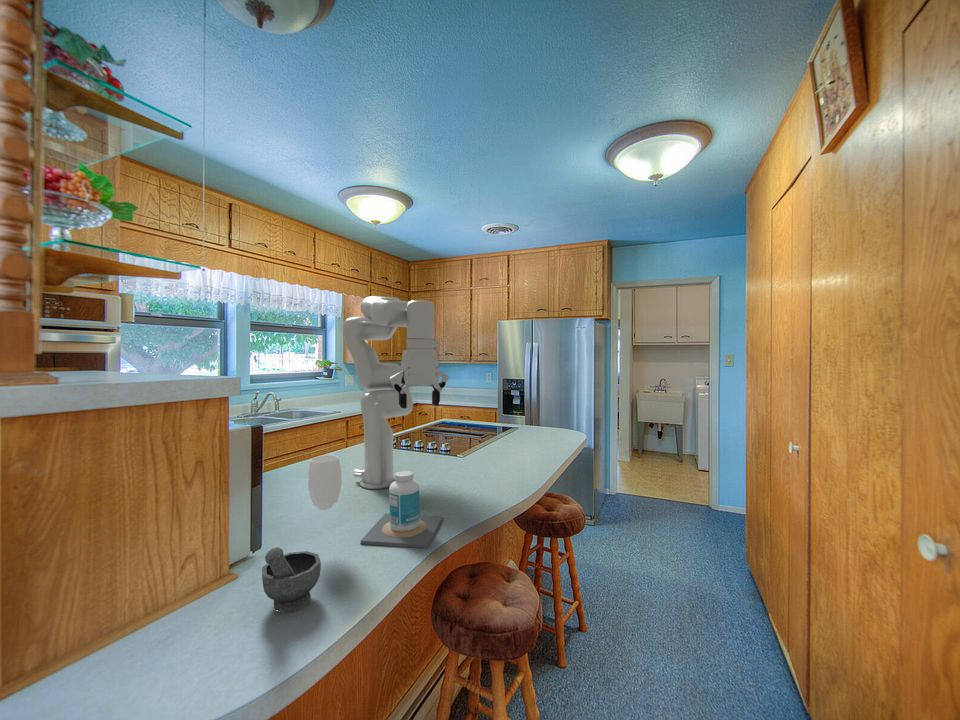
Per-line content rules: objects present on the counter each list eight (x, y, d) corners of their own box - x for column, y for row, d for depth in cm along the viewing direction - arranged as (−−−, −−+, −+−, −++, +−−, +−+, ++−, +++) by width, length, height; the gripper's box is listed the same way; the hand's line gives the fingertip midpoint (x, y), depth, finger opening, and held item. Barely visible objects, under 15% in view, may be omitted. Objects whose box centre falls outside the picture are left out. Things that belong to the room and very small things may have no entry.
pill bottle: (423, 520, 106) (422, 469, 105) (415, 533, 98) (415, 478, 98) (395, 519, 106) (394, 468, 106) (385, 532, 99) (384, 477, 99)
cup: (322, 559, 88) (321, 464, 88) (301, 551, 92) (300, 460, 91) (349, 546, 94) (348, 457, 94) (328, 538, 98) (327, 453, 97)
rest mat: (360, 544, 95) (360, 540, 95) (385, 516, 111) (385, 512, 111) (427, 548, 93) (427, 544, 93) (442, 519, 109) (442, 515, 109)
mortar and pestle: (284, 584, 79) (282, 523, 79) (330, 587, 78) (329, 525, 77) (244, 623, 68) (242, 552, 67) (297, 627, 67) (295, 555, 66)
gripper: (442, 345, 121) (441, 402, 122) (385, 344, 112) (385, 406, 113) (454, 345, 114) (453, 406, 115) (394, 345, 105) (394, 411, 106)
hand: (419, 406), depth 114 cm, fingers open, 9 cm apart
